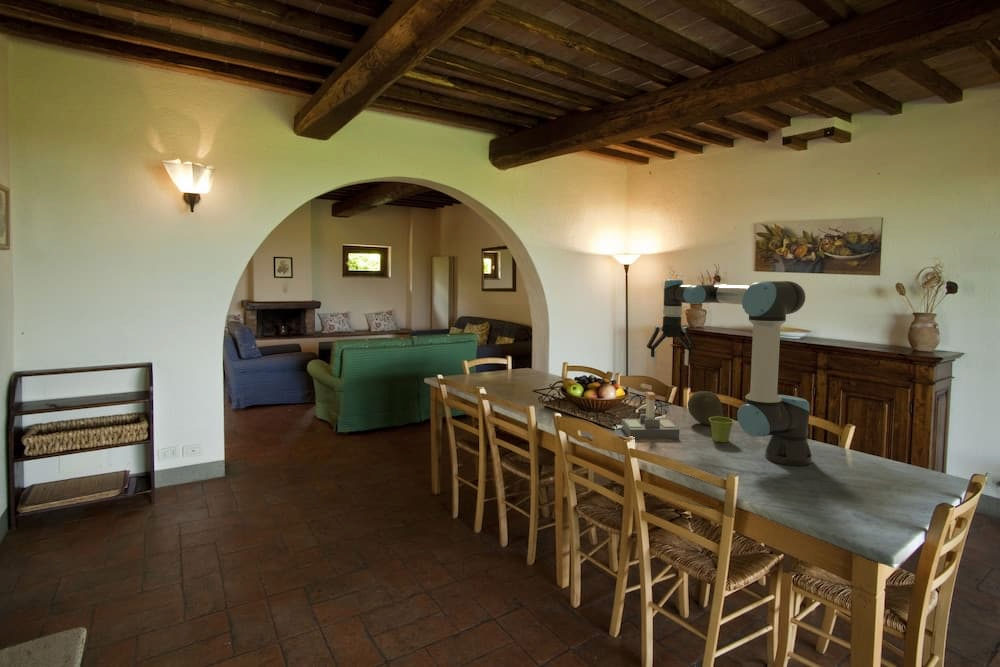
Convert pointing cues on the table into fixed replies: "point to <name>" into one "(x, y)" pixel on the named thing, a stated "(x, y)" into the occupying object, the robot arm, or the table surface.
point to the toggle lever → (650, 405)
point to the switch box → (650, 428)
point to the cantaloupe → (704, 406)
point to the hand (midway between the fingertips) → (670, 364)
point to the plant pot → (721, 428)
